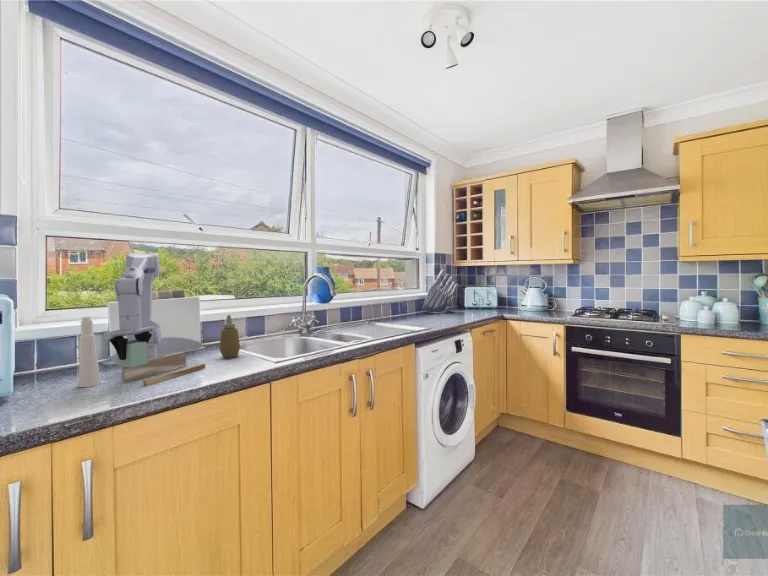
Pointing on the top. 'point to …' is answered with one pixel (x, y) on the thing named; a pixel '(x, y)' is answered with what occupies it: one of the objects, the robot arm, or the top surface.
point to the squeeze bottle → (229, 339)
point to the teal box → (134, 354)
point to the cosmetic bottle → (88, 356)
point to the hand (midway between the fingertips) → (132, 357)
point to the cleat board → (159, 369)
